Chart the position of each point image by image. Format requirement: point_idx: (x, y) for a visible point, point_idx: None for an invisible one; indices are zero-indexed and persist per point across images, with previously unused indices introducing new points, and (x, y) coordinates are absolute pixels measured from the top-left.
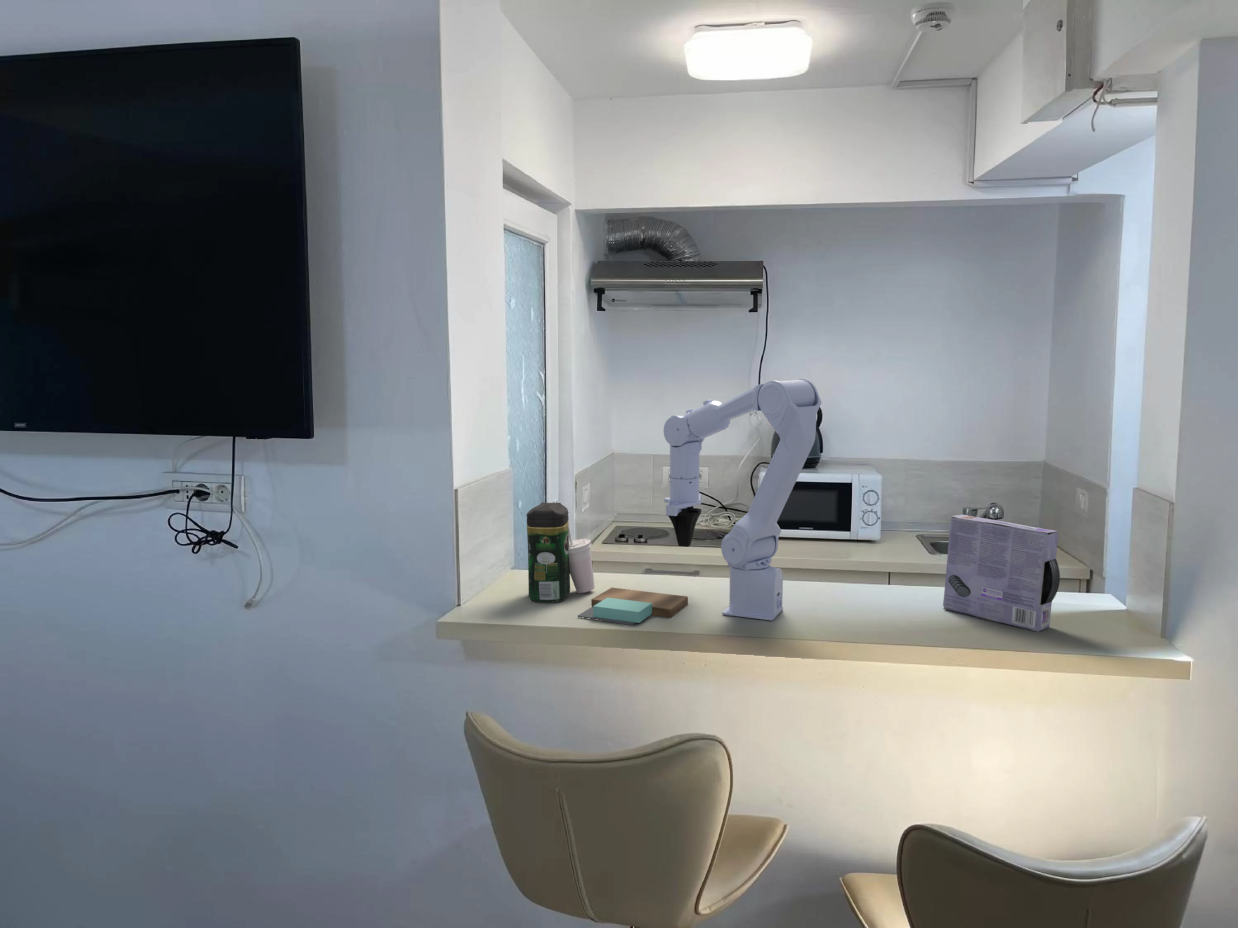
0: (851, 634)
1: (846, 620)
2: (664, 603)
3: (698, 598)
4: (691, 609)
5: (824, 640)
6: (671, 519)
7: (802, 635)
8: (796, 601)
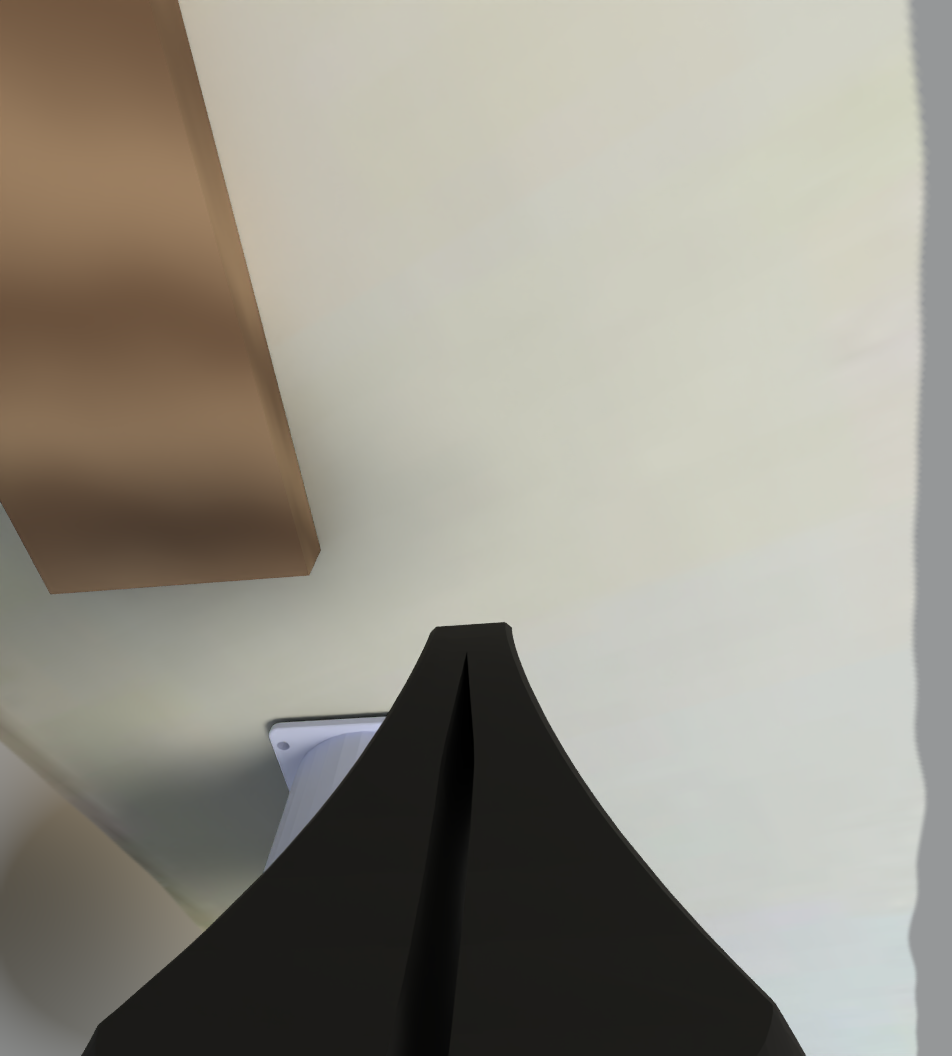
0: None
1: None
2: (105, 527)
3: (457, 548)
4: (262, 593)
5: None
6: (207, 949)
7: None
8: None
